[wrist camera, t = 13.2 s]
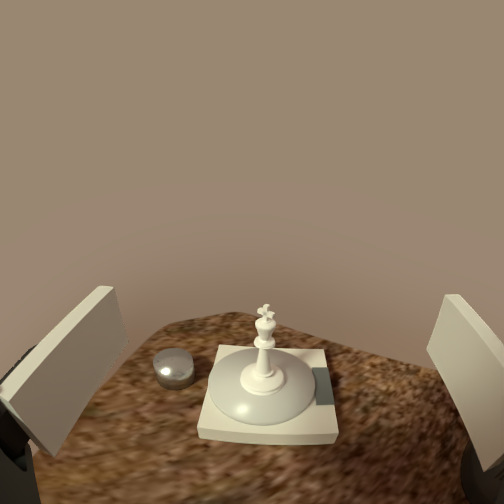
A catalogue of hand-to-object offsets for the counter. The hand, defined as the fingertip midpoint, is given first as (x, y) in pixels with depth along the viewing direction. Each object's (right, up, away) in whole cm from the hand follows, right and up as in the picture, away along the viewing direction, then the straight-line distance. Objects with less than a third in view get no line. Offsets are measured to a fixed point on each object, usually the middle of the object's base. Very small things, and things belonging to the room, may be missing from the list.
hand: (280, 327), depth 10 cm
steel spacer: (-11, -13, +23) cm, 29 cm away
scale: (+1, -14, +21) cm, 25 cm away
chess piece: (0, -12, +20) cm, 23 cm away
